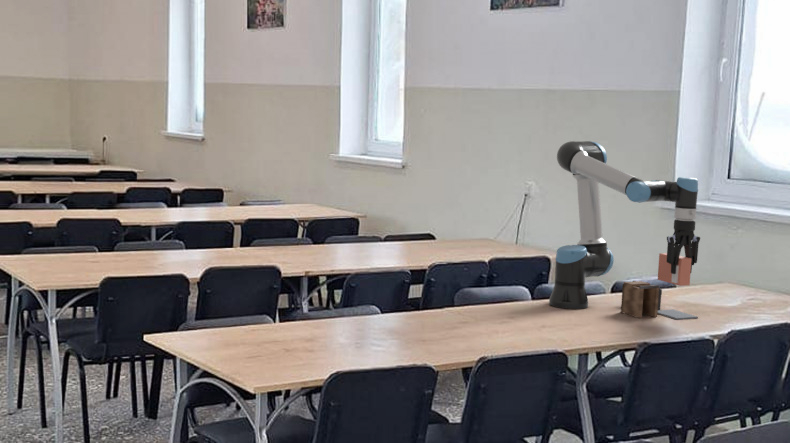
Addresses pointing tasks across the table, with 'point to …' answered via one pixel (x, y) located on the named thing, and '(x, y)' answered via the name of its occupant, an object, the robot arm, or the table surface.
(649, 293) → the brown wooden slotted holder
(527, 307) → the table surface
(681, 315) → the pad
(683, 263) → the salmon pink brick
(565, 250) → the robot arm
